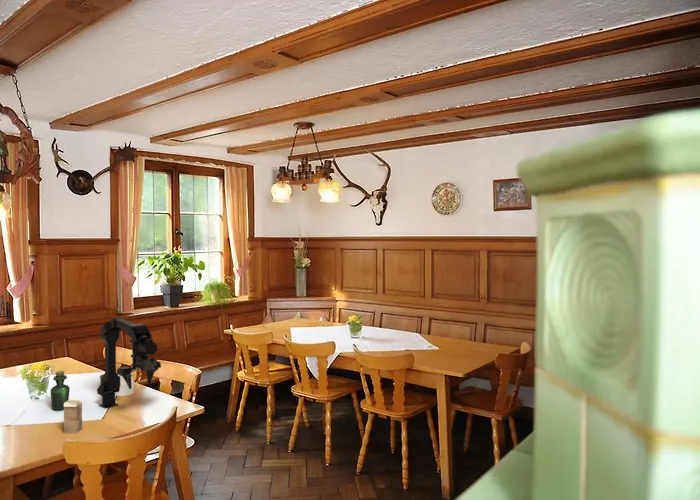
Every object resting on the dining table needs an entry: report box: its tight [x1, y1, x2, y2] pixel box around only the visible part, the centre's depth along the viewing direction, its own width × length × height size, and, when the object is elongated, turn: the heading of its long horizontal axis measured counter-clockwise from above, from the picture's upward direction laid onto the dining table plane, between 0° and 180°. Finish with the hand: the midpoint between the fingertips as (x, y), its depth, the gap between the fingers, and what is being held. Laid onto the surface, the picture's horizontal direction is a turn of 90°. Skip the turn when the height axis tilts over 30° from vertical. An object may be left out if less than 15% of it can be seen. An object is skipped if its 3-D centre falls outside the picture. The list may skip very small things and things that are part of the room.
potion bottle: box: [50, 370, 71, 412], centre depth 245 cm, size 8×8×18 cm
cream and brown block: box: [63, 398, 83, 435], centre depth 217 cm, size 5×5×13 cm
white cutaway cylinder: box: [115, 369, 135, 397], centre depth 270 cm, size 9×9×12 cm
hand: (139, 386), depth 233 cm, fingers open, 9 cm apart
